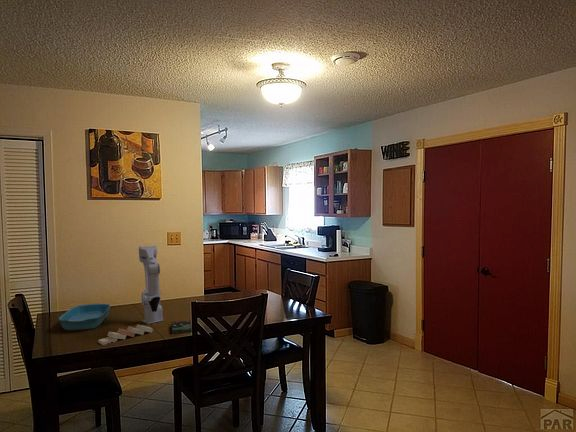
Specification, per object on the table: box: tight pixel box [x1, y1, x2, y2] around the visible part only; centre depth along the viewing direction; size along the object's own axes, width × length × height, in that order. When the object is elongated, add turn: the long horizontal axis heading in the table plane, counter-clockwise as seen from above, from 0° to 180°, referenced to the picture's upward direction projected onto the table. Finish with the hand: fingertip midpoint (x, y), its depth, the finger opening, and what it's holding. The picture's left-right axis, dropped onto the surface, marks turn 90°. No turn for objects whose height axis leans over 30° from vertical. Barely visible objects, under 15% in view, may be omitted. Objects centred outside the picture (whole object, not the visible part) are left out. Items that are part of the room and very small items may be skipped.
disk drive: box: [170, 320, 193, 335], centre depth 222 cm, size 10×3×15 cm
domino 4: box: [126, 325, 146, 336], centre depth 213 cm, size 2×5×7 cm
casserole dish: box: [58, 303, 111, 331], centre depth 237 cm, size 37×22×7 cm, turn 11°
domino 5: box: [135, 324, 154, 333], centre depth 216 cm, size 2×5×7 cm
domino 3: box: [116, 328, 136, 338], centre depth 210 cm, size 2×5×7 cm
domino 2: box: [107, 331, 127, 340], centre depth 206 cm, size 2×5×7 cm
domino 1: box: [98, 336, 118, 346], centre depth 203 cm, size 2×5×7 cm
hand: (154, 311), depth 224 cm, fingers closed
